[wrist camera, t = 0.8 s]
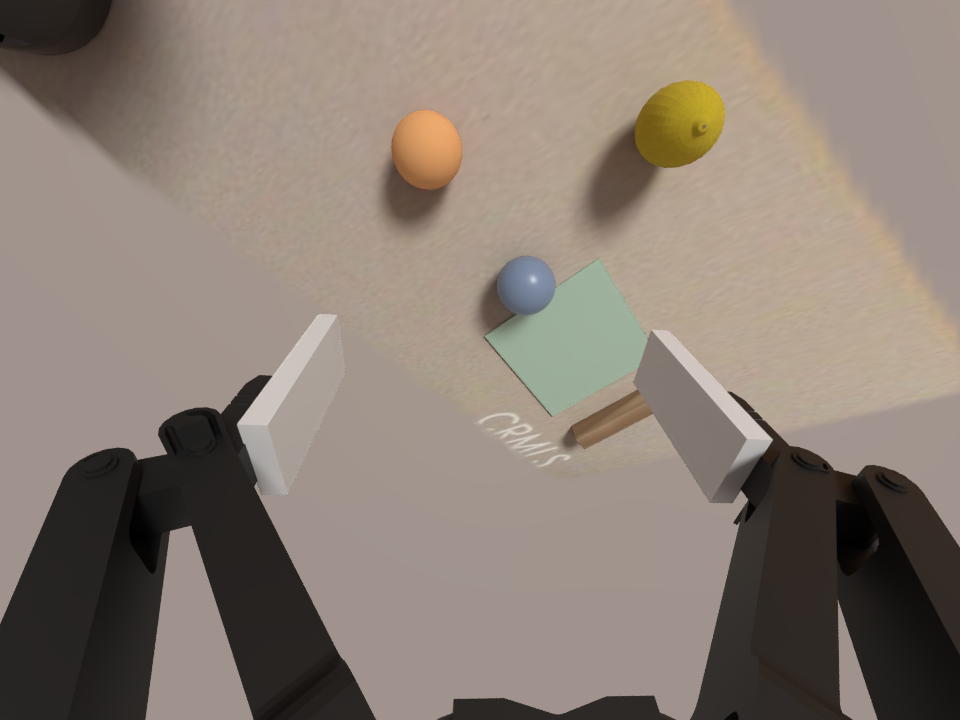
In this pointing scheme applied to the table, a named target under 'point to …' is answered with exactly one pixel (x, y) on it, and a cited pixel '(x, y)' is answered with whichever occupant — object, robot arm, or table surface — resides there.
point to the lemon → (679, 124)
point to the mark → (573, 340)
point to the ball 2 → (526, 285)
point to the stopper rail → (611, 419)
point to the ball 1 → (426, 149)
